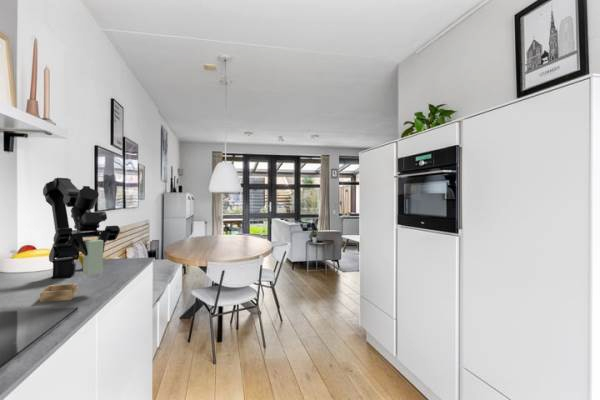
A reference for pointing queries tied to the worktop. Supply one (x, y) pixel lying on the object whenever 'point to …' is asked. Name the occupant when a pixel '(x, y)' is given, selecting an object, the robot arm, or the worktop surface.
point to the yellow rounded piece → (81, 259)
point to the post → (93, 257)
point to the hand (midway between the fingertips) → (94, 254)
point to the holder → (58, 292)
